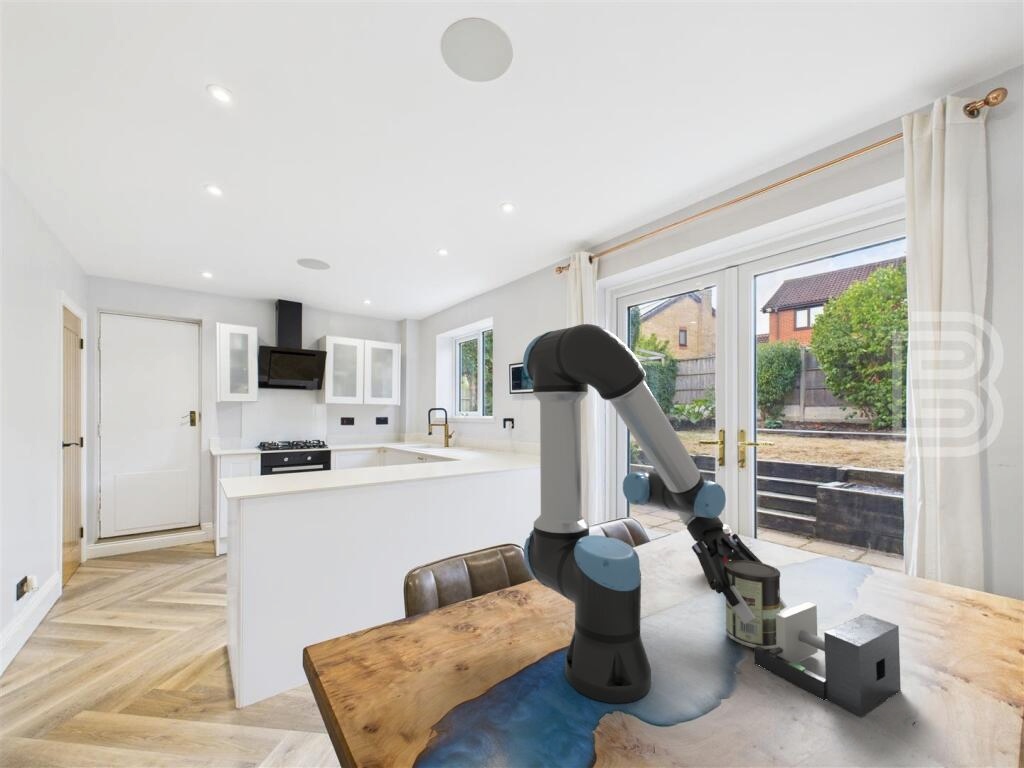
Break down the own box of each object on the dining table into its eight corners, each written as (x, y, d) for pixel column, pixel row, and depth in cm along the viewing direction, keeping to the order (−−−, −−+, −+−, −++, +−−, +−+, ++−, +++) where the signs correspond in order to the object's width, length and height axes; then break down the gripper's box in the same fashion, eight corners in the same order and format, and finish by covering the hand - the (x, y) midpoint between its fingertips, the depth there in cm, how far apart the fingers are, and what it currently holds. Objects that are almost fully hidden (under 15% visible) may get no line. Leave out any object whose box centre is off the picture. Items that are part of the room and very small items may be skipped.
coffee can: (770, 627, 96) (769, 561, 97) (789, 653, 86) (788, 579, 87) (719, 622, 99) (719, 557, 99) (732, 646, 88) (732, 574, 89)
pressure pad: (767, 668, 81) (766, 617, 82) (809, 648, 88) (807, 601, 89) (834, 703, 72) (833, 646, 72) (875, 678, 79) (873, 626, 79)
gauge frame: (754, 663, 84) (753, 604, 85) (797, 644, 92) (796, 589, 92) (859, 719, 70) (857, 647, 70) (900, 690, 77) (898, 625, 77)
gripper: (720, 522, 112) (785, 611, 98) (656, 533, 101) (718, 635, 87) (739, 505, 108) (810, 596, 93) (675, 515, 97) (744, 619, 82)
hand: (766, 615), depth 90 cm, fingers closed on coffee can, 10 cm apart
